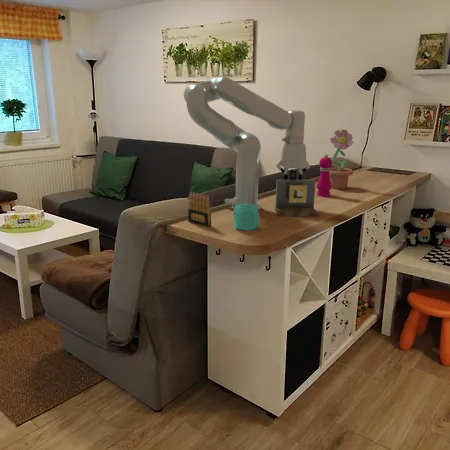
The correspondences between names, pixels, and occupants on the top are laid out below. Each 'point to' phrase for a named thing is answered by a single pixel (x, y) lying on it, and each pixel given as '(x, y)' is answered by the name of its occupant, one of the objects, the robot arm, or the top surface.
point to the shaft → (293, 177)
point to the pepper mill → (324, 177)
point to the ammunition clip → (199, 210)
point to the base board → (296, 212)
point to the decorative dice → (246, 217)
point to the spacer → (291, 193)
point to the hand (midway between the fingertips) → (292, 182)
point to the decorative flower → (340, 174)
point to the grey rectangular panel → (283, 194)
